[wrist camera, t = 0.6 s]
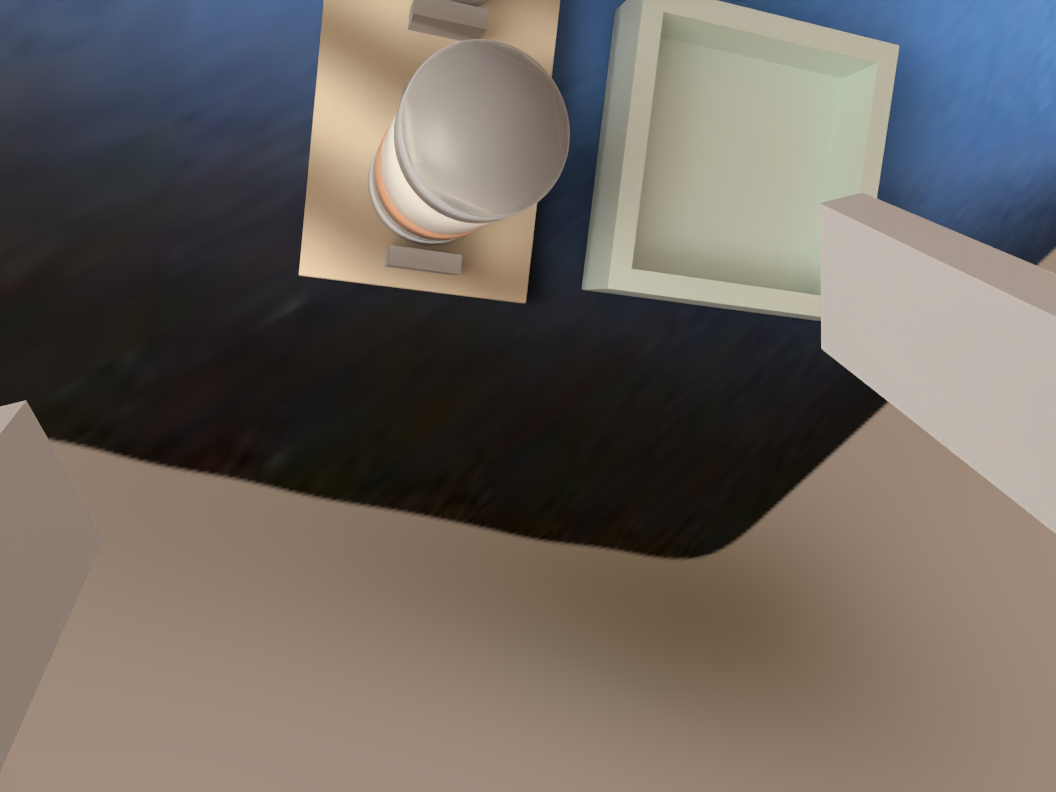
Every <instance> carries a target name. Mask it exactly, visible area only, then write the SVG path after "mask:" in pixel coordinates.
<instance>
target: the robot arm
mask: <svg viewBox="0 0 1056 792" xmlns="http://www.w3.org/2000/svg"><path fill="white" fill-rule="evenodd" d="M820 271H821V349H822V350H824V351H825V352H826V353H828V354H829V355H830V356H831V357H833V358H834V359H835V360H836V361H838V362H839V363H840V364H841V365H843V366H844V367H845V368H846V369H848V370H849V371H850V372H852V373H853V374H854V375H855V376H857V377H858V378H859V379H860V380H862V381H863V382H864V383H865V384H867V385H868V386H869V387H871V388H872V389H873V390H874V391H876V392H877V393H878V394H879V395H881V396H882V397H883V398H884V399H886V400H887V401H888V402H890V403H891V404H892V405H894V406H895V407H896V408H897V409H898V410H900V411H901V412H902V413H904V414H905V415H906V416H907V417H909V418H910V419H911V420H912V421H914V422H915V423H916V424H917V425H919V426H920V427H921V428H922V429H924V430H925V431H926V432H928V433H929V434H930V435H931V436H933V437H934V438H936V440H938V441H939V442H940V443H941V444H943V445H944V446H945V447H947V448H948V449H949V450H950V451H952V452H953V453H954V454H955V455H957V456H958V457H959V458H960V459H962V460H963V461H964V462H966V463H967V464H968V465H969V466H971V467H972V468H973V469H975V470H976V471H977V472H978V473H979V474H981V475H982V476H983V477H985V478H986V479H987V480H988V481H990V482H991V483H992V484H993V485H995V486H996V487H997V488H999V489H1000V490H1001V491H1002V492H1004V493H1005V494H1006V495H1007V496H1009V497H1010V498H1011V499H1012V500H1014V501H1015V502H1016V503H1017V504H1019V505H1020V506H1021V507H1023V508H1024V509H1025V510H1026V511H1028V512H1029V513H1030V514H1031V515H1033V516H1034V517H1035V518H1036V519H1038V520H1039V521H1040V522H1042V523H1043V524H1044V525H1046V526H1047V527H1048V528H1049V529H1051V530H1052V531H1053V532H1054V533H1055V534H1056V274H1055V273H1053V272H1050V271H1048V270H1045V269H1043V268H1041V267H1038V266H1036V265H1034V264H1031V263H1029V262H1026V261H1024V260H1022V259H1019V258H1017V257H1015V256H1012V255H1010V254H1007V253H1005V252H1003V251H1000V250H998V249H995V248H993V247H991V246H988V245H986V244H984V243H981V242H979V241H976V240H974V239H972V238H969V237H967V236H965V235H962V234H960V233H957V232H955V231H953V230H950V229H948V228H946V227H943V226H941V225H938V224H936V223H934V222H931V221H929V220H926V219H924V218H922V217H919V216H917V215H915V214H912V213H910V212H907V211H905V210H903V209H900V208H898V207H896V206H893V205H891V204H888V203H886V202H884V201H881V200H879V199H877V198H874V197H872V196H869V195H867V194H865V193H858V194H854V195H850V196H846V197H842V198H838V199H834V200H830V201H826V202H822V203H820ZM102 541H103V536H102V534H101V533H100V531H99V529H98V527H97V525H96V524H95V522H94V520H93V518H92V516H91V515H90V513H89V511H88V509H87V508H86V506H85V504H84V502H83V501H82V499H81V497H80V495H79V493H78V492H77V490H76V488H75V486H74V484H73V483H72V481H71V479H70V477H69V476H68V474H67V472H66V470H65V469H64V467H63V465H62V463H61V461H60V460H59V458H58V456H57V454H56V452H55V451H54V449H53V447H52V445H51V444H50V442H49V440H48V438H47V436H46V435H45V433H44V431H43V429H42V428H41V426H40V424H39V422H38V420H37V419H36V417H35V415H34V413H33V412H32V410H31V408H30V406H29V404H28V403H27V401H26V400H25V401H21V402H17V403H13V404H9V405H5V406H1V407H0V771H1V768H2V766H3V764H4V762H5V759H6V757H7V755H8V752H9V750H10V748H11V746H12V744H13V741H14V739H15V737H16V734H17V732H18V730H19V728H20V725H21V723H22V721H23V719H24V716H25V714H26V712H27V709H28V707H29V705H30V703H31V700H32V698H33V696H34V694H35V692H36V689H37V687H38V685H39V683H40V680H41V678H42V676H43V674H44V671H45V669H46V667H47V664H48V662H49V660H50V658H51V656H52V653H53V651H54V649H55V646H56V644H57V642H58V640H59V637H60V635H61V633H62V631H63V628H64V626H65V624H66V622H67V620H68V617H69V615H70V613H71V611H72V608H73V606H74V604H75V602H76V599H77V597H78V595H79V592H80V590H81V588H82V586H83V583H84V581H85V579H86V577H87V574H88V572H89V570H90V568H91V565H92V563H93V561H94V559H95V556H96V554H97V552H98V550H99V547H100V545H101V543H102Z"/></svg>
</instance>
